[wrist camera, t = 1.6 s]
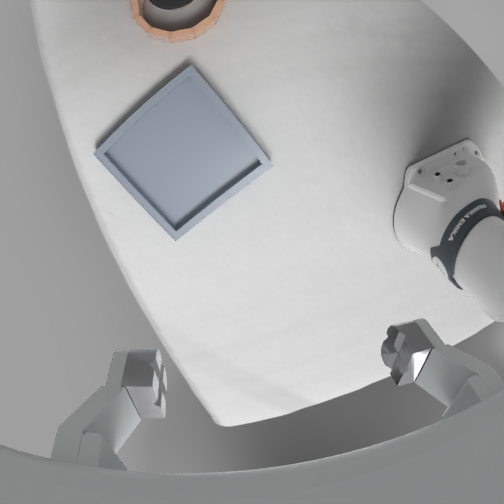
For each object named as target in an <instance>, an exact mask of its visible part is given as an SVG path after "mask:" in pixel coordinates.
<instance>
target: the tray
mask: <svg viewBox="0 0 504 504" xmlns="http://www.w3.org/2000/svg"><path fill="white" fill-rule="evenodd" d="M93 154H94V155H95V156H96V158H97V159H98V160H99V161H100V162H101V163H102V164H103V165H104V166H105V167H106V168H107V170H108V171H109V172H110V173H111V174H112V175H113V176H114V177H115V178H116V179H117V180H118V182H119V183H120V184H121V185H122V186H123V187H124V188H125V189H126V190H127V191H128V192H129V193H130V194H131V195H132V196H133V198H134V199H135V200H136V201H137V202H138V203H139V204H140V205H141V206H142V207H143V208H144V209H145V210H146V211H147V212H148V213H149V214H150V215H151V216H152V217H153V218H154V219H155V221H156V222H157V223H158V224H159V225H160V226H161V227H162V228H163V229H164V230H165V231H166V232H167V233H168V234H169V235H170V236H171V237H172V238H173V239H174V240H175V241H177V240H178V239H179V238H180V237H182V236H183V235H184V234H185V233H187V232H188V231H189V230H190V229H191V228H193V227H194V226H195V225H196V224H198V223H199V222H200V221H201V220H203V219H204V218H205V217H207V216H208V215H209V214H210V213H212V212H213V211H214V210H215V209H217V208H218V207H219V206H221V205H222V204H223V203H224V202H226V201H227V200H228V199H230V198H231V197H232V196H234V195H235V194H236V193H237V192H239V191H240V190H241V189H243V188H244V187H245V186H247V185H248V184H249V183H251V182H252V181H253V180H255V179H256V178H257V177H259V176H260V175H261V174H263V173H264V172H265V171H267V170H268V169H269V168H271V167H272V166H273V164H272V163H271V162H270V160H269V159H268V158H267V156H266V155H265V154H264V153H263V151H262V150H261V149H260V147H259V146H258V145H257V143H256V142H255V141H254V140H253V138H252V137H251V136H250V135H249V133H248V132H247V131H246V130H245V128H244V127H243V126H242V124H241V123H240V122H239V121H238V120H237V118H236V117H235V116H234V115H233V113H232V112H231V111H230V110H229V108H228V107H227V106H226V105H225V104H224V102H223V101H222V100H221V99H220V98H219V96H218V95H217V94H216V93H215V92H214V90H213V89H212V88H211V87H210V86H209V85H208V83H207V82H206V81H205V80H204V79H203V78H202V76H201V75H200V74H199V73H198V72H197V71H196V69H195V68H194V67H193V66H192V65H190V66H189V67H188V68H186V69H185V70H184V71H183V72H181V73H180V74H179V75H177V76H176V77H175V78H174V79H172V80H171V81H170V82H169V83H168V84H166V85H165V86H164V87H163V88H162V89H160V90H159V91H158V92H157V93H156V94H155V95H153V96H152V97H151V98H150V99H149V100H148V101H147V102H145V103H144V104H143V105H142V106H141V107H140V108H139V109H138V110H137V111H136V112H134V113H133V114H132V115H131V116H130V117H129V118H128V119H127V120H126V121H125V122H124V123H123V124H122V125H121V126H120V127H119V128H118V129H117V130H116V131H115V132H114V133H113V134H112V135H111V136H110V137H109V138H108V139H107V140H106V141H105V142H104V143H103V144H102V145H101V146H100V147H99V148H98V149H97V150H96V151H95V152H94V153H93Z"/></svg>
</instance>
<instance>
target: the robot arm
mask: <svg viewBox="0 0 504 504" xmlns="http://www.w3.org/2000/svg"><path fill="white" fill-rule="evenodd" d="M419 169H420V172H419V173H418V170H419ZM499 204H500V210H501V211H500V210H499ZM394 230H395V234H396V237H397V239H398V241H399V242H400V244H401V245H402V246H403V247H405V248H406V249H408V250H410V251H413V252H416V253H418V254H420V255H422V256H424V257H425V258H427V259H428V260H430V261H431V262H433V263H434V265H435V267H436V268H437V269H438V270H439V271H440V273H441V274H442V275H443V276H444V277H445V278H447V279H449V280H450V281H451V282H452V283H453V284H454V285H455V286H456V287H457V288H459V289H462V290H464V291H465V292H466V293H467V294H468V295H469V296H470V297H471V298H472V299H473V300H474V301H475V302H476V303H477V304H478V305H479V306H480V307H481V309H482V310H483V311H484V312H485V313H486V314H487V315H488V316H489V317H490V318H491V319H493V320H495V321H498V322H503V321H504V202H503V203H502V201H501V200H499V193H498V188H497V183H496V180H495V177H494V174H493V172H492V170H491V169H490V167H489V166H488V165H487V164H486V163H485V160H484V158H483V155H482V153H481V151H480V150H479V148H478V147H477V145H476V144H475V143H474V142H472V141H471V140H469V139H467V140H464V141H462V142H460V143H458V144H456V145H453V146H451V147H449V148H447V149H445V150H443V151H441V152H438V153H436V154H434V155H432V156H430V157H428V158H426V159H424V160H421V161H419V162H417V163H415V164H413V165H411V166H409V167H408V168H407V170H406V173H405V180H404V188H403V191H402V193H401V195H400V198H399V200H398V202H397V205H396V209H395V214H394ZM386 334H387V335H388V338H387V339H386V340H385V341H384V342H383V344H382V347H381V356H382V359H383V362H384V363H385V365H386V366H388V367H389V368H391V372H390V374H391V376H392V378H393V380H394V382H395V383H396V385H397V386H400V385H404V384H408V383H411V382H415V383H416V384H418V385H419V386H420V387H422V388H423V389H424V390H426V391H427V392H428V393H430V394H431V395H433V396H434V397H435V398H436V399H438V400H439V401H441V402H442V403H443V404H445V405H446V406H447V407H448V408H447V409H446V411H445V412H444V413H443V415H442V421H439V422H437V423H435V424H432V425H430V426H428V427H425V428H422V429H420V430H417V431H415V432H412V433H409V434H407V435H404V436H401V437H398V438H395V439H392V440H389V441H386V442H383V443H380V444H377V445H373V446H370V447H366V448H363V449H359V450H355V451H352V452H348V453H344V454H340V455H336V456H332V457H327V458H323V459H318V460H313V461H308V462H302V463H297V464H291V465H285V466H278V467H271V468H263V469H255V470H244V471H232V472H217V473H151V472H136V471H127V467H126V466H125V465H124V464H123V462H122V461H121V460H120V459H119V458H118V457H117V455H116V453H117V452H118V450H119V449H120V448H121V446H122V445H123V444H124V442H125V441H126V440H127V438H128V437H129V436H130V434H131V433H132V432H133V430H134V429H135V427H136V426H137V425H138V423H139V422H140V421H141V418H165V408H166V401H165V399H164V396H163V395H164V394H165V393H166V392H167V377H166V372H165V368H164V366H163V365H162V364H161V359H162V357H161V354H160V351H159V350H118V349H117V350H116V351H115V352H114V354H113V358H112V362H111V366H110V369H109V373H108V377H107V382H106V386H101V387H100V388H99V389H98V390H97V391H96V392H95V393H94V394H93V395H92V396H91V397H90V398H88V399H87V400H86V401H85V402H84V403H83V404H82V405H81V406H80V407H79V408H78V409H77V410H76V411H75V412H74V413H73V414H71V416H69V417H68V418H67V419H66V420H65V421H64V422H63V423H62V424H61V425H60V426H59V427H58V430H57V434H56V438H55V442H54V446H53V451H52V455H51V459H49V458H45V457H41V456H37V455H33V454H29V453H26V452H22V451H18V450H15V449H12V448H9V447H6V446H3V445H0V504H504V383H503V381H502V380H501V379H500V377H499V376H498V374H497V373H496V372H495V370H494V369H493V368H492V367H491V366H489V365H488V364H485V363H483V362H482V361H480V360H478V359H475V358H474V357H472V356H470V355H468V354H466V353H464V352H462V351H460V350H458V349H456V348H454V347H452V346H450V345H448V344H447V345H445V344H444V343H443V341H442V340H441V339H440V337H439V336H438V335H437V333H436V332H435V331H434V330H433V328H432V327H431V326H430V324H429V323H428V322H427V321H426V320H425V319H423V318H422V319H418V320H413V321H409V322H404V323H399V324H394V325H391V326H390V327H389V328H388V330H387V333H386Z"/></svg>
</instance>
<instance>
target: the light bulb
mask: <svg viewBox="0 0 504 504" xmlns="http://www.w3.org/2000/svg"><path fill="white" fill-rule="evenodd" d="M149 1H150V2H151V3H152V4H153V5H155V6H157V7H159V8H161V9H167V10H177V11H178V10H183V9H185V8H186V7H187V6H188V4H190V3H191V2H192V1H193V0H149Z"/></svg>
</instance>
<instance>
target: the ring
mask: <svg viewBox="0 0 504 504" xmlns="http://www.w3.org/2000/svg"><path fill="white" fill-rule="evenodd" d="M144 1H145V0H131V7H132V17H133V19H134V20H135V21H136V22H137V23H138V24H139V25H140V26H141V27H142V28H143V29H144V30H145V31H146V32H147V33H148V34H149V35H150V36H151V37H153V38H157V39H161V40H165V41H168V42H178V41H184V40H189V39H195V38H197V37H198V36H200V35H201V34H203V33H204V32H206V31H207V30H208V29H210V28H211V27H213V26H214V25H215V24H216V22H217V20H218V18H219V16H220V14H221V12H222V10H223V9H224V6H225V0H217V2H216V4H215V6H214V8H213V10H212V12H211V14H210V16H208V17H207V18H205V19H204V20H202V21H201V22H200V23H198V24H197V25H195V26H194V27H192V28H188V29H183V30H177V31H172V32H169V31H165V30H161V29H157V28H153V27H151V26H150V25H149V24H148V23H147V22H146V21H145V20H144V12H143V3H144Z"/></svg>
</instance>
